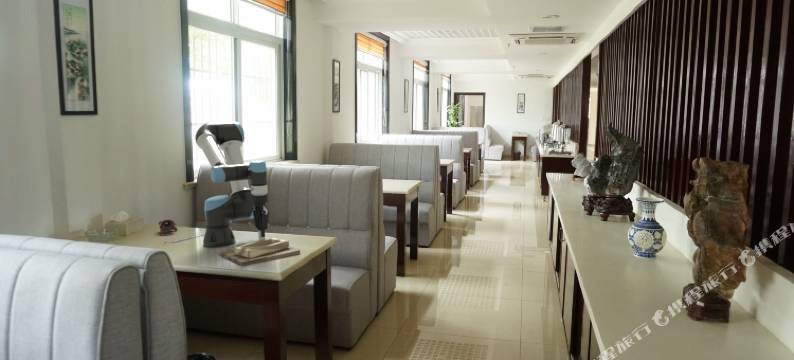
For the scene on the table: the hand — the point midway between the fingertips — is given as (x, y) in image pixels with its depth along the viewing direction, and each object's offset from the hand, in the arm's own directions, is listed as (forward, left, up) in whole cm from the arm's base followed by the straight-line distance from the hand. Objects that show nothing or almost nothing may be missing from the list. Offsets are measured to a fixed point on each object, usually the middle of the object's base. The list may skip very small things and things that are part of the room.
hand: (262, 243), depth 260 cm
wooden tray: (+8, -4, -1) cm, 9 cm away
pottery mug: (-71, -20, -3) cm, 74 cm away
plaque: (-51, -18, -4) cm, 54 cm away
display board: (+7, -5, -3) cm, 10 cm away
